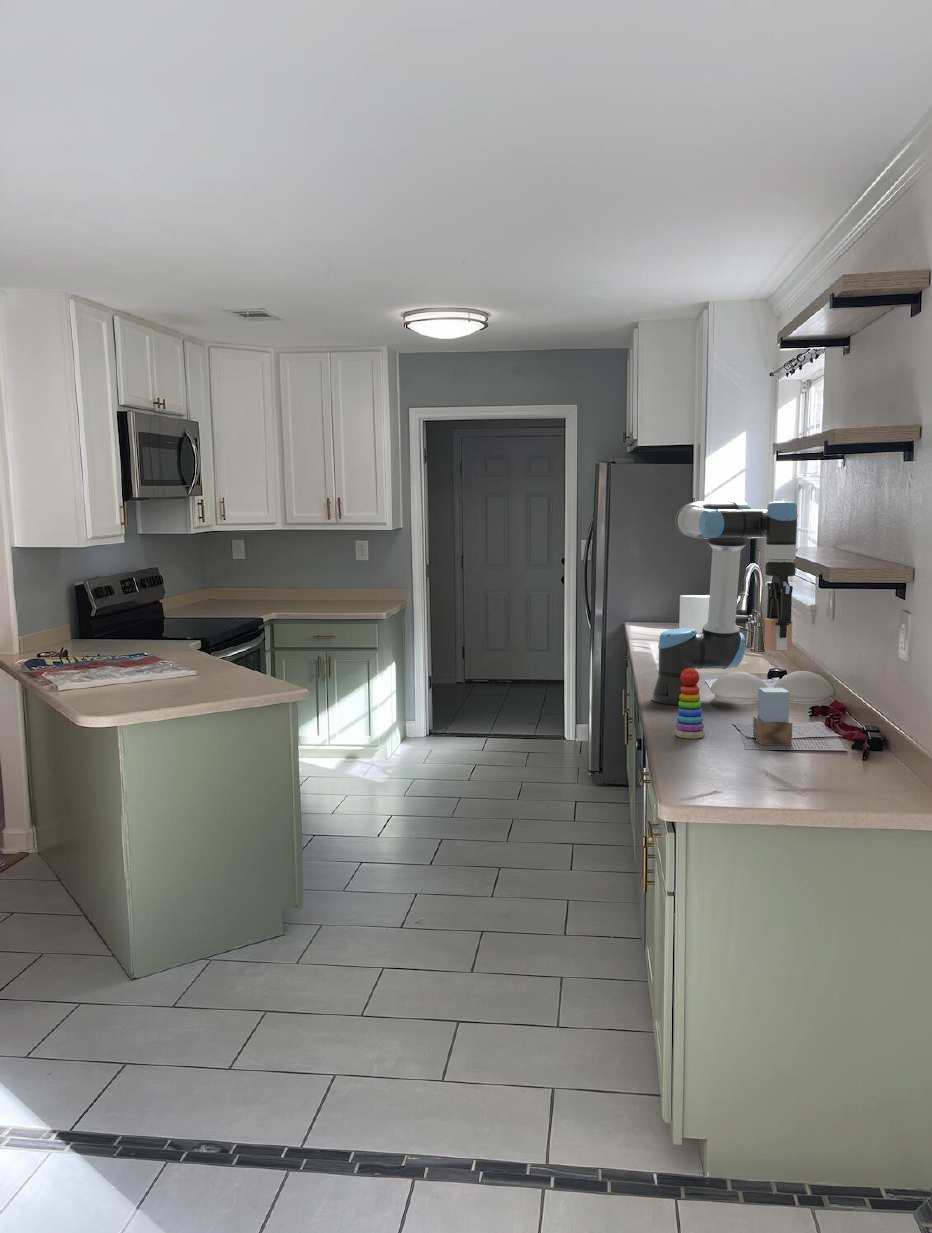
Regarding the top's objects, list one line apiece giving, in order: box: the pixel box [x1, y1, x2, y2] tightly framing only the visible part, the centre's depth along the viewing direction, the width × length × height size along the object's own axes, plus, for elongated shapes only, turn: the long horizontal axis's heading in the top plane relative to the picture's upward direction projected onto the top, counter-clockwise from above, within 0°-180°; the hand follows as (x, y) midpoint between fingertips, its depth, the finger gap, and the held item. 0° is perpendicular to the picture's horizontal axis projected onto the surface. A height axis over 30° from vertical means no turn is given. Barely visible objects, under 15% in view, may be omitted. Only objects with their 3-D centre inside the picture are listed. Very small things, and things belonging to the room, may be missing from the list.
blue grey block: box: [757, 687, 790, 722], centre depth 258 cm, size 6×6×8 cm
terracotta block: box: [763, 618, 793, 652], centre depth 256 cm, size 6×6×8 cm
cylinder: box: [678, 594, 710, 633], centre depth 387 cm, size 17×17×28 cm
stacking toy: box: [674, 668, 706, 740], centre depth 263 cm, size 8×8×19 cm
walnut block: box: [752, 715, 793, 746], centre depth 258 cm, size 8×8×6 cm
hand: (777, 648), depth 257 cm, fingers closed on terracotta block, 5 cm apart
